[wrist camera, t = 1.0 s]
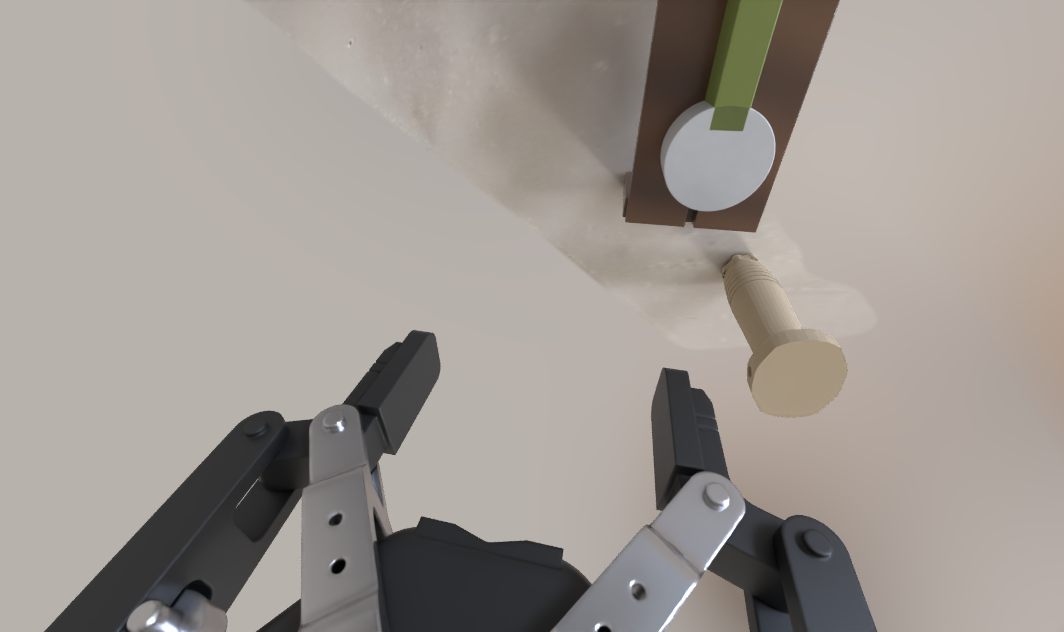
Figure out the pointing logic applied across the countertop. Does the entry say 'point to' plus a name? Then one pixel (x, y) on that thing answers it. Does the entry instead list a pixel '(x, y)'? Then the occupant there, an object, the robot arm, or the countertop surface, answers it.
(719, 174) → the green handled white cylinder
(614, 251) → the countertop surface
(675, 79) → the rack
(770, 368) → the handle
